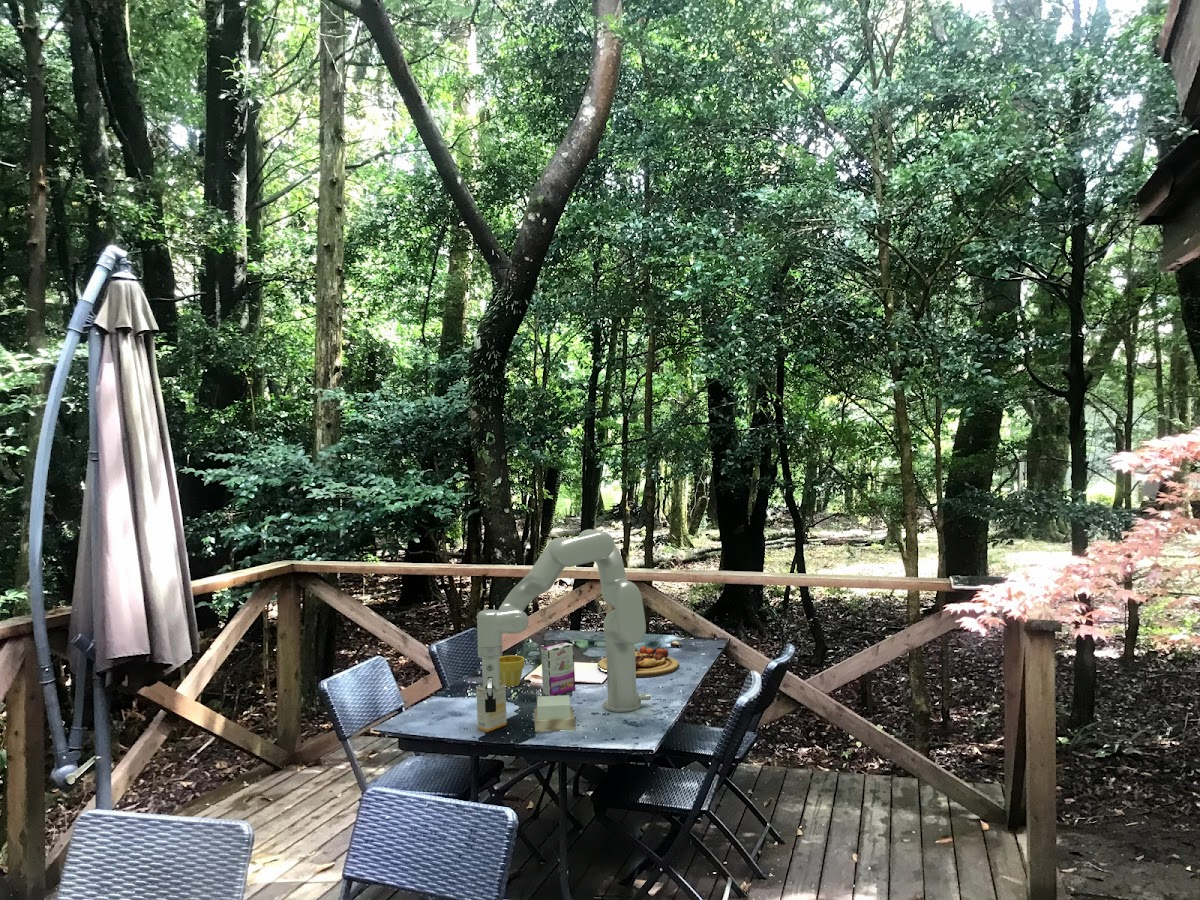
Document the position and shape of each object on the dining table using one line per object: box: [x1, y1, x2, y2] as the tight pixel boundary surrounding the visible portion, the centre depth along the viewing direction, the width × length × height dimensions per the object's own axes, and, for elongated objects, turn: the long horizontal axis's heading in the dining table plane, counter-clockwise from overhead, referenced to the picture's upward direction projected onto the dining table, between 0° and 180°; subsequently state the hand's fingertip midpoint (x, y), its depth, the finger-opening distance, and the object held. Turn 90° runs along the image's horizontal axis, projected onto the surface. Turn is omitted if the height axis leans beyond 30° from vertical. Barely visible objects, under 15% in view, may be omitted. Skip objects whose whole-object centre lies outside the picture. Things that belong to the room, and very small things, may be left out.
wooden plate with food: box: [597, 645, 680, 678], centre depth 304 cm, size 32×32×8 cm
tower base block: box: [533, 706, 576, 733], centre depth 239 cm, size 12×12×4 cm
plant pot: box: [499, 654, 525, 687], centre depth 283 cm, size 10×10×10 cm
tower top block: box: [536, 694, 571, 720], centre depth 239 cm, size 10×10×4 cm
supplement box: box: [475, 681, 508, 733], centre depth 238 cm, size 8×5×13 cm, turn 141°
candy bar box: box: [540, 642, 576, 696], centre depth 273 cm, size 11×5×16 cm, turn 130°
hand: (491, 707), depth 238 cm, fingers closed on supplement box, 9 cm apart
